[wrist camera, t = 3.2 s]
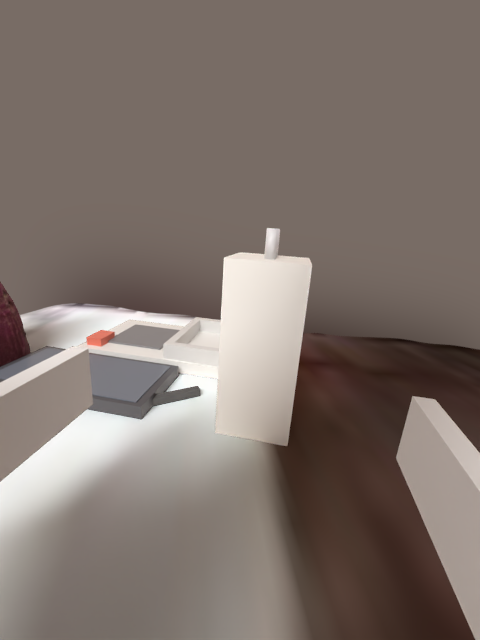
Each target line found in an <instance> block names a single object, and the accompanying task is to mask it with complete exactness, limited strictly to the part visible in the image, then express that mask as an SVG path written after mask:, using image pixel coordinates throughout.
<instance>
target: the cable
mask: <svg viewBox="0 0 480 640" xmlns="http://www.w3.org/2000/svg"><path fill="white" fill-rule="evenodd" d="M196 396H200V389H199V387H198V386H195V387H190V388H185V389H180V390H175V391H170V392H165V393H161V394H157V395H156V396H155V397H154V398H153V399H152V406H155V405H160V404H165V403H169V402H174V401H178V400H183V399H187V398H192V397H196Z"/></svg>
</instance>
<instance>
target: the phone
mask: <svg viewBox="0 0 480 640" xmlns="http://www.w3.org/2000/svg"><path fill="white" fill-rule="evenodd" d="M64 350H66V349H62V348H55V347H48V346H46V347H44V348H42V349H39V350H37V351H35V352H33V353H30V354H28V355H26V356H24V357H21V358H19V359H17V360H15V361H12V362H10V363H8V364H6V365H3V366H1V367H0V382H2V381H4V380H6V379H8V378H10V377H12V376H14V375H16V374H18V373H20V372H22V371H24V370H26V369H28V368H30V367H32V366H34V365H36V364H38V363H40V362H42V361H44V360H46V359H48V358H50V357H52V356H54V355H56V354H58V353H60V352H62V351H64ZM89 361H90V373H91V386H92V398H93V405H91V406H90V407H89V408H88V409H89V410H95V411H100V412H106V413H111V414H117V415H122V416H127V417H133V418H138V419H142V418H143V417H144V415H145V414H146V413H147V412H148V411H149V410H150V408H151V407H152V399H153V398H154V397H155V396H156V395H157V394H161V393H164V392H165V391H166V390H167V388H168V387H169V386H170V385H171V384H172V383H173V381H174V380H175V379H176V378H177V377H178V366H174V365H168V364H161V363H154V362H148V361H141V360H135V359H128V358H121V357H115V356H108V355H101V354H95V353H89Z"/></svg>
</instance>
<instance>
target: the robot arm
mask: <svg viewBox="0 0 480 640" xmlns="http://www.w3.org/2000/svg"><path fill="white" fill-rule="evenodd" d="M91 405H93V398H92V386H91V373H90V361H89V349H88V348H81V347H74V346H72V347H70V348H68V349H66V350H64V351H62V352H60V353H58V354H56V355H54V356H52V357H50V358H48V359H46V360H44V361H42V362H40V363H38V364H36V365H34V366H32V367H30V368H28V369H26V370H24V371H22V372H20V373H18V374H16V375H14V376H12V377H10V378H8V379H6V380H4V381H2V382H0V481H2V480H3V479H4V478H5V477H6V476H8V475H9V474H10V473H11V472H12V471H14V470H15V469H16V468H17V467H18V466H20V465H21V464H22V463H23V462H24V461H26V460H27V459H28V458H29V457H30V456H32V455H33V454H34V453H35V452H36V451H38V450H39V449H40V448H41V447H42V446H44V445H45V444H46V443H47V442H48V441H50V440H51V439H52V438H53V437H54V436H56V435H57V434H58V433H59V432H60V431H62V430H63V429H64V428H65V427H66V426H67V425H69V424H70V423H71V422H72V421H73V420H75V419H76V418H77V417H78V416H79V415H81V414H82V413H83V412H84V411H85V410H87V409H88V408H89V407H90V406H91ZM396 459H397V461H398V464H399V466H400V468H401V471H402V473H403V475H404V478H405V480H406V482H407V484H408V487H409V489H410V491H411V494H412V496H413V498H414V500H415V503H416V505H417V507H418V510H419V512H420V514H421V516H422V519H423V521H424V523H425V526H426V528H427V530H428V533H429V535H430V537H431V539H432V542H433V544H434V546H435V549H436V551H437V553H438V555H439V558H440V560H441V562H442V565H443V567H444V569H445V571H446V574H447V576H448V578H449V581H450V583H451V585H452V587H453V590H454V592H455V594H456V597H457V599H458V601H459V604H460V606H461V608H462V610H463V613H464V615H465V617H466V620H467V622H468V624H469V626H470V629H471V631H472V633H473V636H474V638H475V640H480V453H479V452H478V451H477V449H476V448H475V447H474V446H473V445H472V443H471V442H470V441H469V440H468V439H467V437H466V436H465V435H464V434H463V432H462V431H461V430H460V429H459V428H458V426H457V425H456V424H455V423H454V422H453V420H452V419H451V418H450V417H449V416H448V414H447V413H446V412H445V411H444V409H443V408H442V407H441V406H440V405H439V403H438V402H437V401H436V400H435V399H429V398H422V397H415V396H412V400H411V404H410V407H409V411H408V415H407V419H406V422H405V426H404V430H403V434H402V438H401V441H400V445H399V449H398V453H397V456H396Z"/></svg>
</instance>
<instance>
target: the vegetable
mask: <svg viewBox="0 0 480 640" xmlns="http://www.w3.org/2000/svg"><path fill="white" fill-rule="evenodd" d="M28 354H30V348H29V344H28V341H27V338H26V333H25V332H24V329H23V324H22V321H21V318H20V315H19V313H18V310H17V308H16V306H15V304H14V302H13V300H12V299H11V298H10V296H9V294H8V293H7V291H6V290H5V288H4V287H3V285H2V284H1V282H0V367H1V366H3V365H6V364H8V363H10V362H12V361H15V360H17V359H19V358H21V357H24V356H26V355H28Z"/></svg>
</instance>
